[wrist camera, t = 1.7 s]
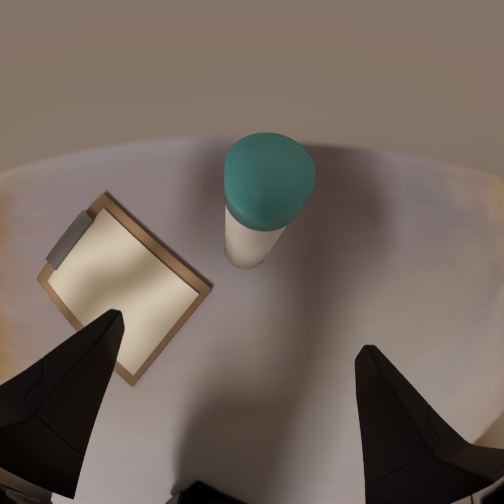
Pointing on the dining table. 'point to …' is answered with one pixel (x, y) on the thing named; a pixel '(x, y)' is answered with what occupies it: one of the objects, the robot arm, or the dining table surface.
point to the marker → (263, 194)
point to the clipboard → (121, 283)
